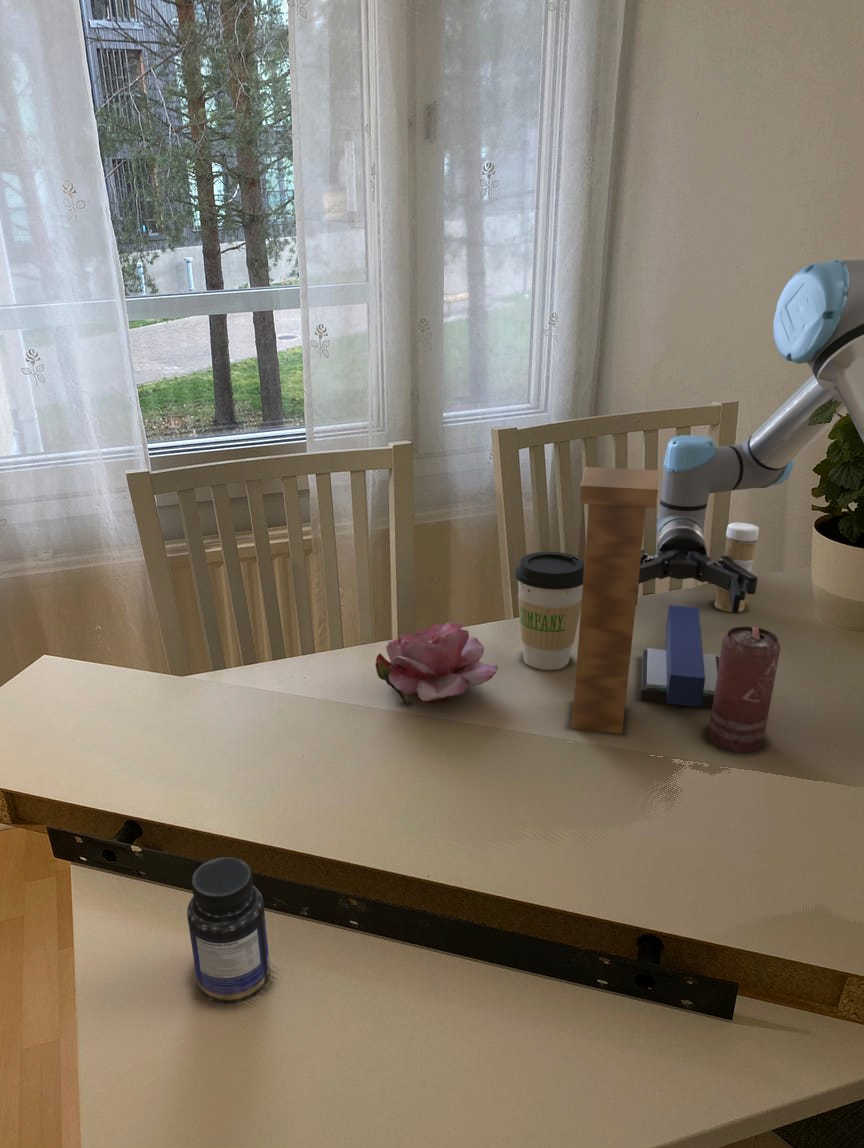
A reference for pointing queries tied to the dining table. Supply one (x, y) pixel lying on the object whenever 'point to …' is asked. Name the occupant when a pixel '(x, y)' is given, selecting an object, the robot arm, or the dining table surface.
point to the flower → (434, 663)
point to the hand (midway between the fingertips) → (685, 600)
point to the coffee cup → (549, 606)
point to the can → (744, 688)
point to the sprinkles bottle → (738, 556)
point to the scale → (657, 677)
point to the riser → (609, 591)
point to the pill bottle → (228, 931)
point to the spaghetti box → (684, 657)
